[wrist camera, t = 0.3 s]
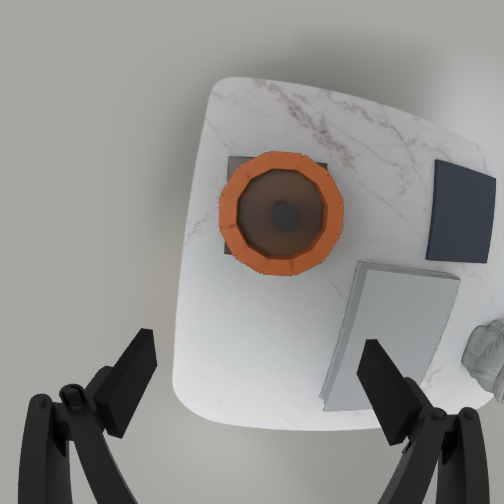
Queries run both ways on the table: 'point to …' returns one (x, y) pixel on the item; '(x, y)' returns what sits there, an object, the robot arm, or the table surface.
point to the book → (388, 327)
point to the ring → (322, 240)
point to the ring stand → (278, 210)
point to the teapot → (487, 358)
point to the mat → (461, 214)
